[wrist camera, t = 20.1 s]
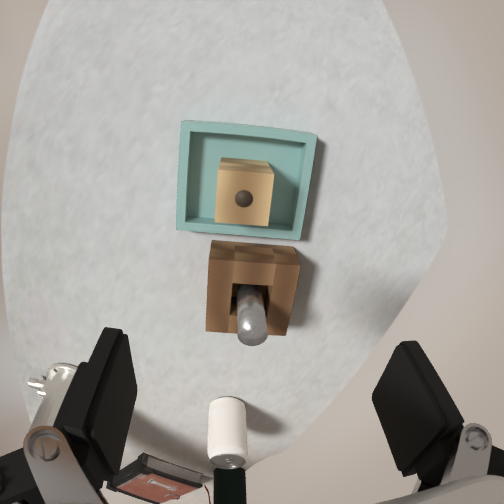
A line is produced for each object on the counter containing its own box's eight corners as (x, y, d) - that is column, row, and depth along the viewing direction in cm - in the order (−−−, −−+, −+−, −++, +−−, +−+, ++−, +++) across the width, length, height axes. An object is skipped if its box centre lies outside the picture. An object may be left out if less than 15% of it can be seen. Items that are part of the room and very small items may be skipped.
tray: (179, 222, 38) (175, 230, 35) (184, 120, 32) (181, 121, 30) (295, 231, 39) (299, 240, 37) (311, 133, 34) (317, 135, 32)
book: (160, 493, 75) (158, 506, 71) (108, 474, 70) (106, 488, 65) (205, 472, 67) (204, 488, 63) (143, 451, 62) (141, 468, 57)
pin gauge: (235, 292, 41) (236, 344, 32) (237, 271, 40) (239, 322, 31) (259, 293, 41) (265, 346, 32) (262, 273, 40) (269, 324, 31)
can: (241, 393, 51) (243, 451, 41) (248, 413, 54) (252, 467, 44) (204, 397, 52) (201, 455, 41) (215, 417, 55) (213, 471, 44)
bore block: (208, 307, 43) (205, 331, 39) (211, 240, 39) (208, 259, 34) (280, 312, 44) (285, 335, 40) (293, 246, 40) (300, 265, 35)
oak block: (218, 200, 36) (214, 222, 30) (221, 157, 34) (217, 170, 28) (262, 203, 37) (268, 226, 30) (266, 161, 34) (274, 174, 28)
